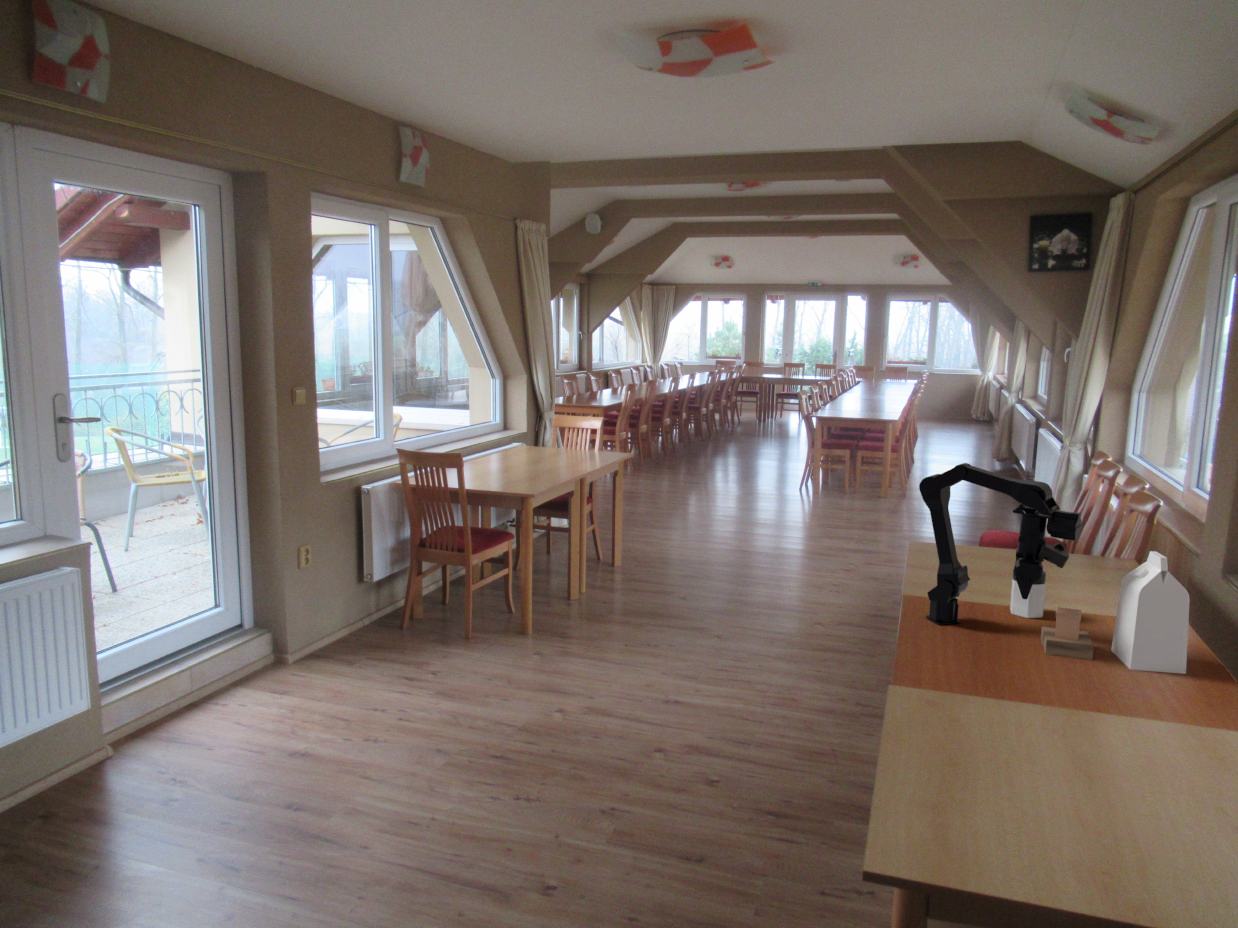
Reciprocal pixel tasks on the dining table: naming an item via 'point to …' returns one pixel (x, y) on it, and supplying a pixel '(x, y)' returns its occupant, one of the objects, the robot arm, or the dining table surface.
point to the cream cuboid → (1067, 623)
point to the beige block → (1067, 644)
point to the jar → (1028, 599)
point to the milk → (1152, 619)
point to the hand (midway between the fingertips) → (1025, 593)
